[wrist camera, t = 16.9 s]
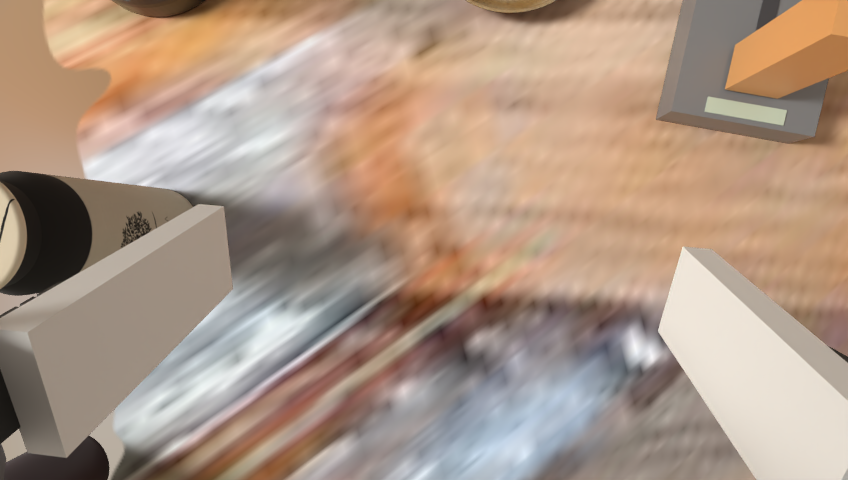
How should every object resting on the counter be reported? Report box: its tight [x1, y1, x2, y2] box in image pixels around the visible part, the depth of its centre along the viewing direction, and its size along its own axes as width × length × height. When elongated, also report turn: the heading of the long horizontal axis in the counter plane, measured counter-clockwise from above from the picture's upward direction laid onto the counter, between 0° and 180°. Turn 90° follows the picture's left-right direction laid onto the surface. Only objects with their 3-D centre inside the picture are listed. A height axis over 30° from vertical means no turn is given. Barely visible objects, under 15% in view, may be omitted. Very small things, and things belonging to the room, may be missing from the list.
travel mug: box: [0, 171, 193, 295], centre depth 36 cm, size 8×8×18 cm
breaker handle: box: [725, 0, 848, 99], centre depth 31 cm, size 4×4×11 cm
